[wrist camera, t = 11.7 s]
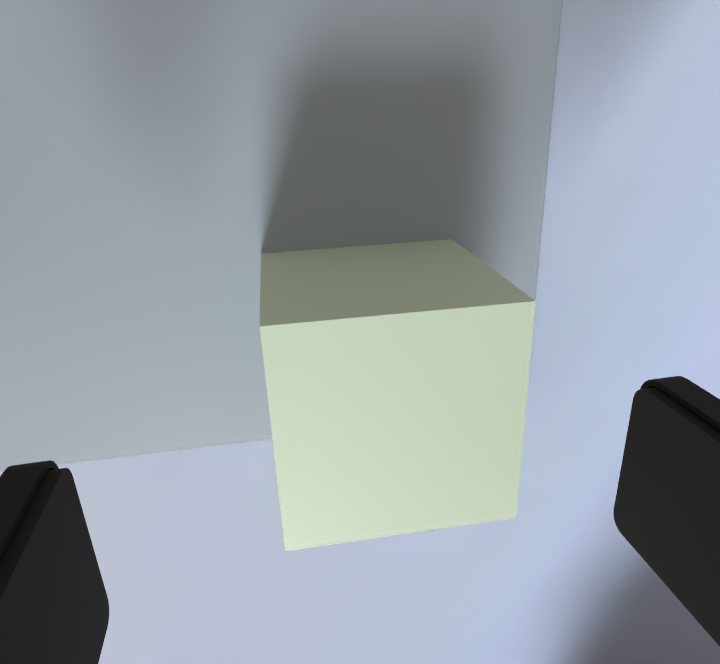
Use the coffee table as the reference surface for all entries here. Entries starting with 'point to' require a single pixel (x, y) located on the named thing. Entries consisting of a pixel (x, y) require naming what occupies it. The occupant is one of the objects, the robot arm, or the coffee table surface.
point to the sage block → (393, 389)
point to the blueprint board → (236, 189)
